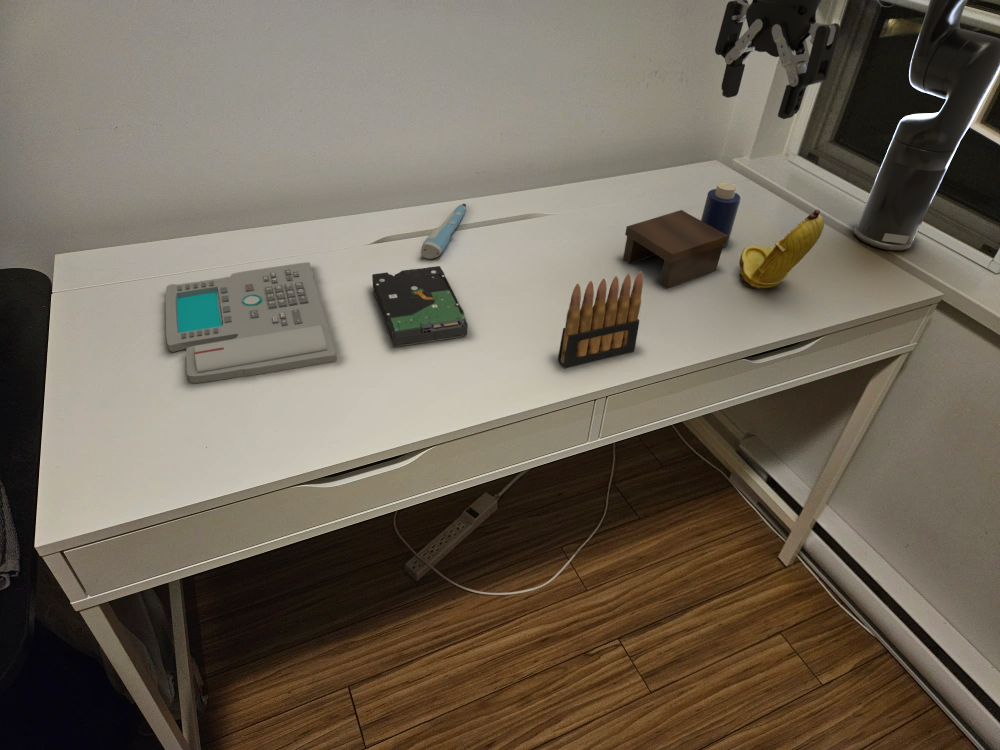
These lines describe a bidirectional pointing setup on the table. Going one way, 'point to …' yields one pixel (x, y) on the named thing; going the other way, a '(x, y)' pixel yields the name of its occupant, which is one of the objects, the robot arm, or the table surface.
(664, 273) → the brown wooden stand
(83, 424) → the table surface
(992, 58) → the robot arm
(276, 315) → the office telephone
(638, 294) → the ammunition clip
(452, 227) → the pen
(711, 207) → the bottle
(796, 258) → the shrine
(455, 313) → the disk drive
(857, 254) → the table surface
